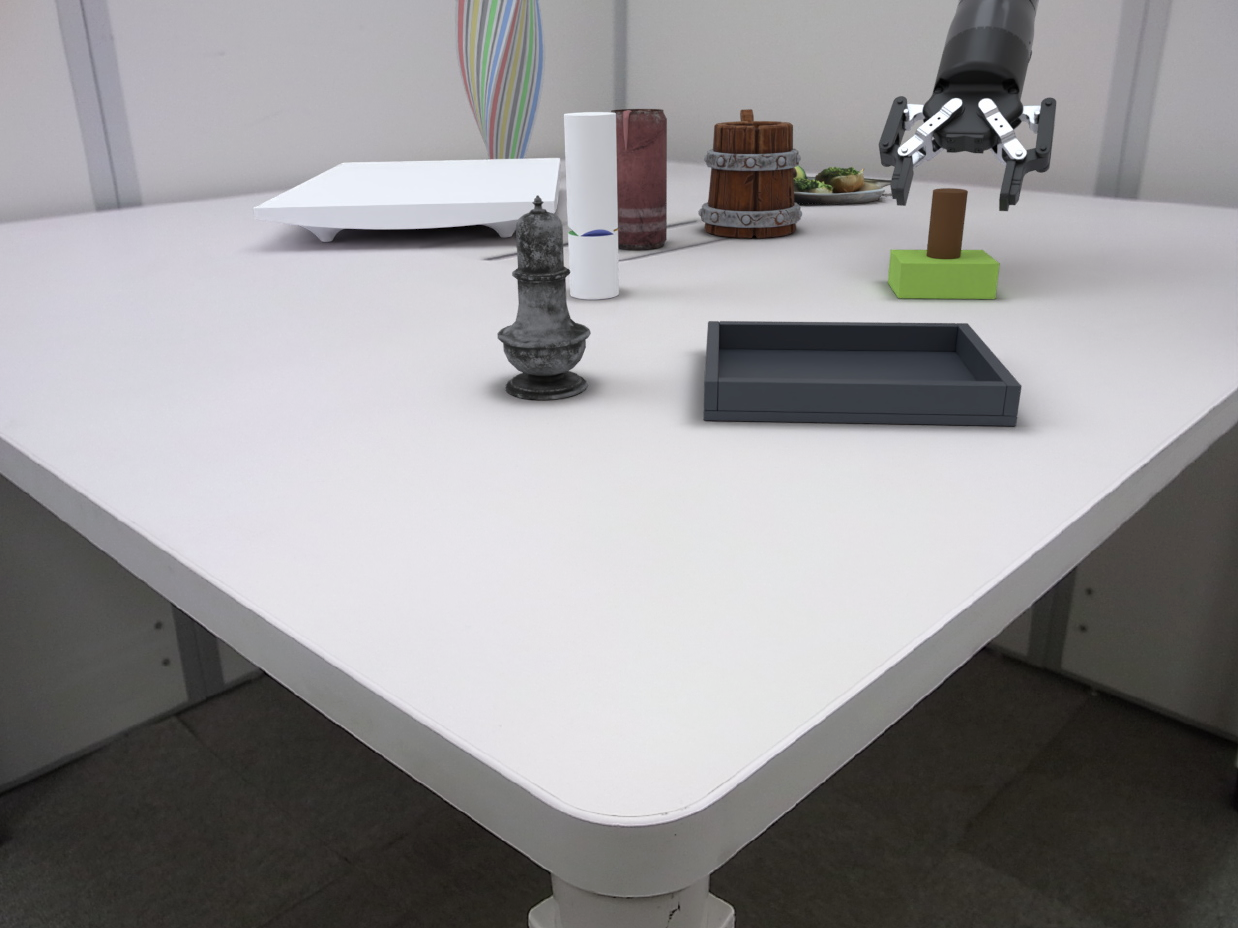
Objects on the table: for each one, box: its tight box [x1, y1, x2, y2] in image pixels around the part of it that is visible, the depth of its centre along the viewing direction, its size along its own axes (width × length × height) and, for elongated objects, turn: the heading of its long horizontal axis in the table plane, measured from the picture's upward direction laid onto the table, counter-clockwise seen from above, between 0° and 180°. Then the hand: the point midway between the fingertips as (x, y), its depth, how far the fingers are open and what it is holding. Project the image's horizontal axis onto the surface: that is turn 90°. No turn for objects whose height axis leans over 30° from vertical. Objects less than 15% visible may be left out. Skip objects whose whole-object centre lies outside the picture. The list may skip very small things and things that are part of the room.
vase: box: [454, 0, 546, 159], centre depth 160 cm, size 14×14×30 cm
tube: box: [563, 111, 620, 300], centre depth 86 cm, size 4×4×15 cm
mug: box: [697, 108, 803, 239], centre depth 116 cm, size 12×14×15 cm
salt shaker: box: [497, 195, 592, 401], centre depth 63 cm, size 6×6×12 cm
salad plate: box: [793, 164, 891, 206], centre depth 141 cm, size 19×18×5 cm
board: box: [252, 157, 562, 243], centre depth 130 cm, size 45×32×5 cm
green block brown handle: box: [887, 187, 1001, 300], centre depth 86 cm, size 8×6×8 cm
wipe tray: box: [703, 320, 1022, 427], centre depth 64 cm, size 18×14×2 cm
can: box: [610, 108, 668, 251], centre depth 107 cm, size 6×6×14 cm
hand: (951, 202), depth 86 cm, fingers open, 8 cm apart
